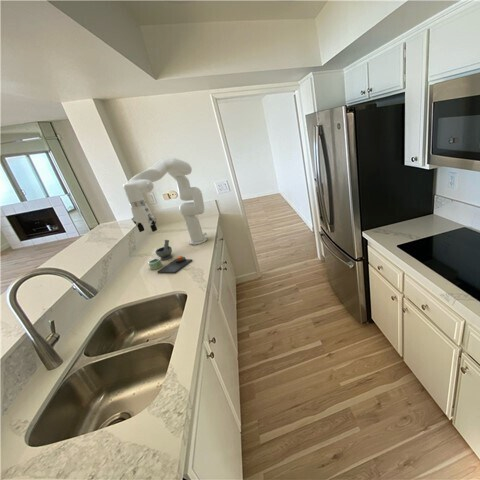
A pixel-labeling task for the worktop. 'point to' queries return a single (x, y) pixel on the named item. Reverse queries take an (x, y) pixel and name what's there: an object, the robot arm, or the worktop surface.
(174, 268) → the scale
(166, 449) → the worktop surface
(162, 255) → the mortar and pestle
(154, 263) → the bowl
